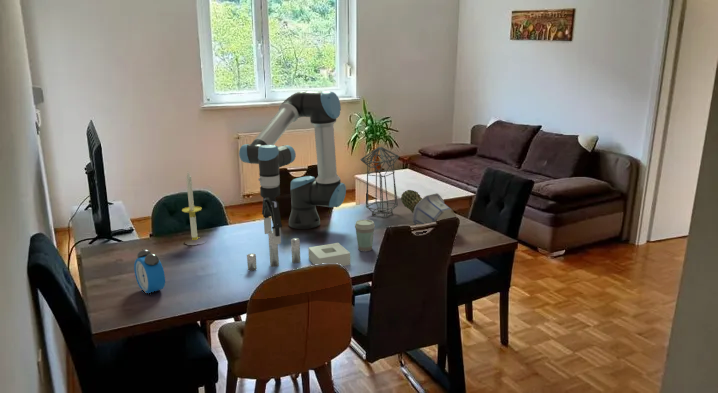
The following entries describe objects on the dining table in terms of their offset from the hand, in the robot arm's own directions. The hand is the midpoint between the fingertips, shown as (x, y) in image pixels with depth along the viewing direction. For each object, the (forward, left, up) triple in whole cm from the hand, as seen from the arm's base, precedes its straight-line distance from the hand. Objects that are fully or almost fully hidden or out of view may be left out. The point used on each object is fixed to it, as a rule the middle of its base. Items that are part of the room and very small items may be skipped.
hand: (272, 238), depth 221 cm
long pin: (0, 0, -12) cm, 12 cm away
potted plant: (-14, +77, -12) cm, 79 cm away
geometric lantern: (-42, +67, -12) cm, 80 cm away
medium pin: (0, +9, -12) cm, 15 cm away
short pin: (0, -9, -12) cm, 14 cm away
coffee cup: (-1, +40, -12) cm, 42 cm away
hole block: (+6, +21, -12) cm, 25 cm away
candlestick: (-42, -25, -12) cm, 50 cm away
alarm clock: (+4, -46, -12) cm, 48 cm away
